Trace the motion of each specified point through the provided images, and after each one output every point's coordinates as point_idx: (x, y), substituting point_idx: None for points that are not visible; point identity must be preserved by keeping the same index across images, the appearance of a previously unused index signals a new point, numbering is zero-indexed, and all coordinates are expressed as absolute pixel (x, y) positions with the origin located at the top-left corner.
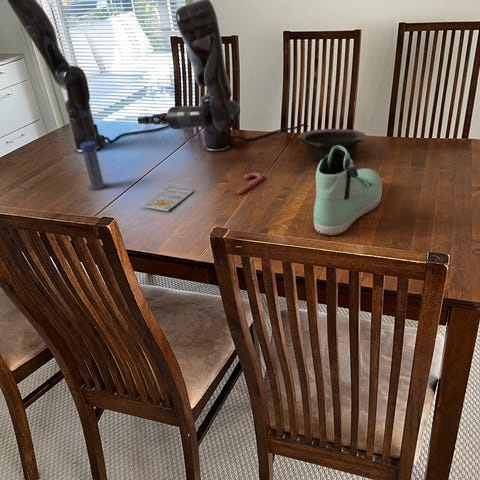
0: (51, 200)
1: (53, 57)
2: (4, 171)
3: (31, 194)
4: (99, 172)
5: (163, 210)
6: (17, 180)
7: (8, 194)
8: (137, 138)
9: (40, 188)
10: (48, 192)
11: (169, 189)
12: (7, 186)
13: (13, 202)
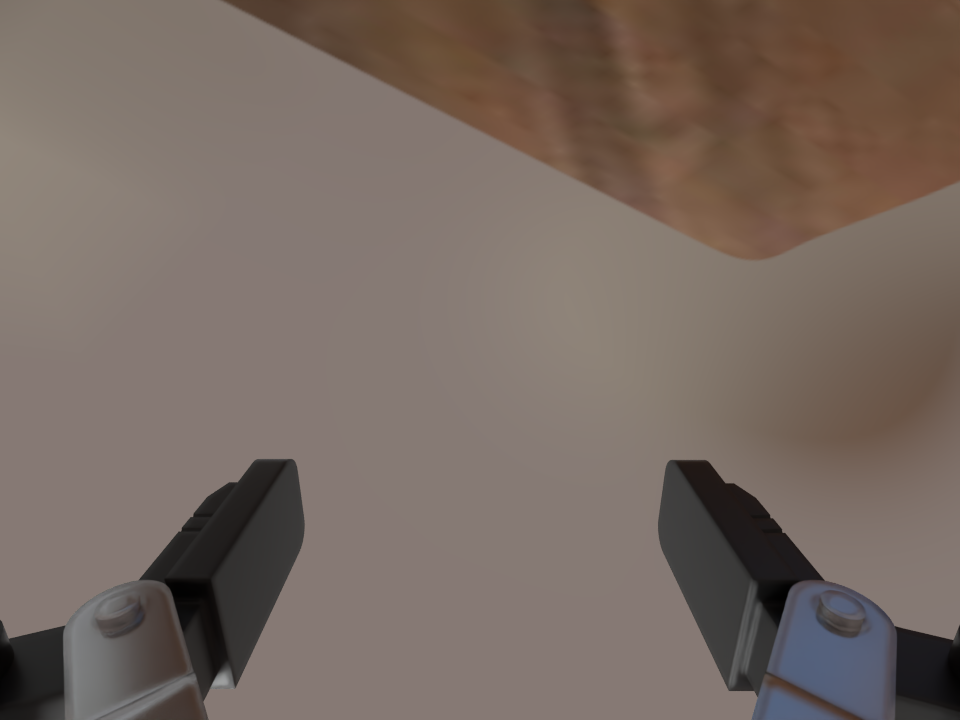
0: (952, 109)
1: None
2: (355, 67)
3: (791, 136)
4: None
5: None
6: (554, 88)
7: (677, 209)
8: None
9: (775, 63)
10: (861, 64)
11: None
12: (581, 164)
13: (781, 237)
